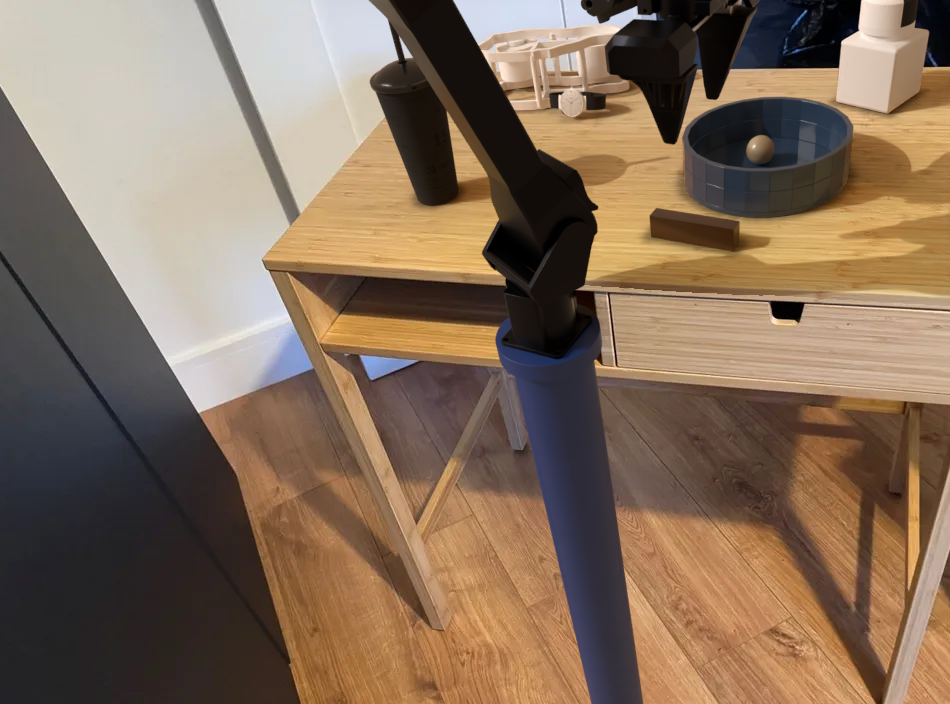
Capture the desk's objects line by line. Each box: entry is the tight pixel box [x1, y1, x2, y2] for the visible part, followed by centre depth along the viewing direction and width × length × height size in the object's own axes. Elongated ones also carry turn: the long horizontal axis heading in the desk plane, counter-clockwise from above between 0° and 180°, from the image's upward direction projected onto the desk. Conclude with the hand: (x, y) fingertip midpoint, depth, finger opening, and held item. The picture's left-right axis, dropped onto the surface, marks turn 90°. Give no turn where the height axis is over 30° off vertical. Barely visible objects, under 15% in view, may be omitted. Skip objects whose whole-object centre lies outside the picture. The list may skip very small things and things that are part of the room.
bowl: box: [681, 96, 854, 218], centre depth 86 cm, size 17×17×5 cm
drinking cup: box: [369, 19, 460, 206], centre depth 87 cm, size 8×8×20 cm
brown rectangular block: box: [649, 207, 741, 252], centre depth 80 cm, size 2×9×2 cm, turn 61°
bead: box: [746, 135, 775, 165], centre depth 88 cm, size 3×3×3 cm
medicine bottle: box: [835, 0, 930, 115], centre depth 94 cm, size 7×7×12 cm
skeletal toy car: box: [477, 24, 630, 111], centre depth 109 cm, size 20×11×7 cm, turn 78°
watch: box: [549, 86, 607, 118], centre depth 104 cm, size 8×5×4 cm, turn 67°
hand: (692, 120), depth 72 cm, fingers open, 9 cm apart
